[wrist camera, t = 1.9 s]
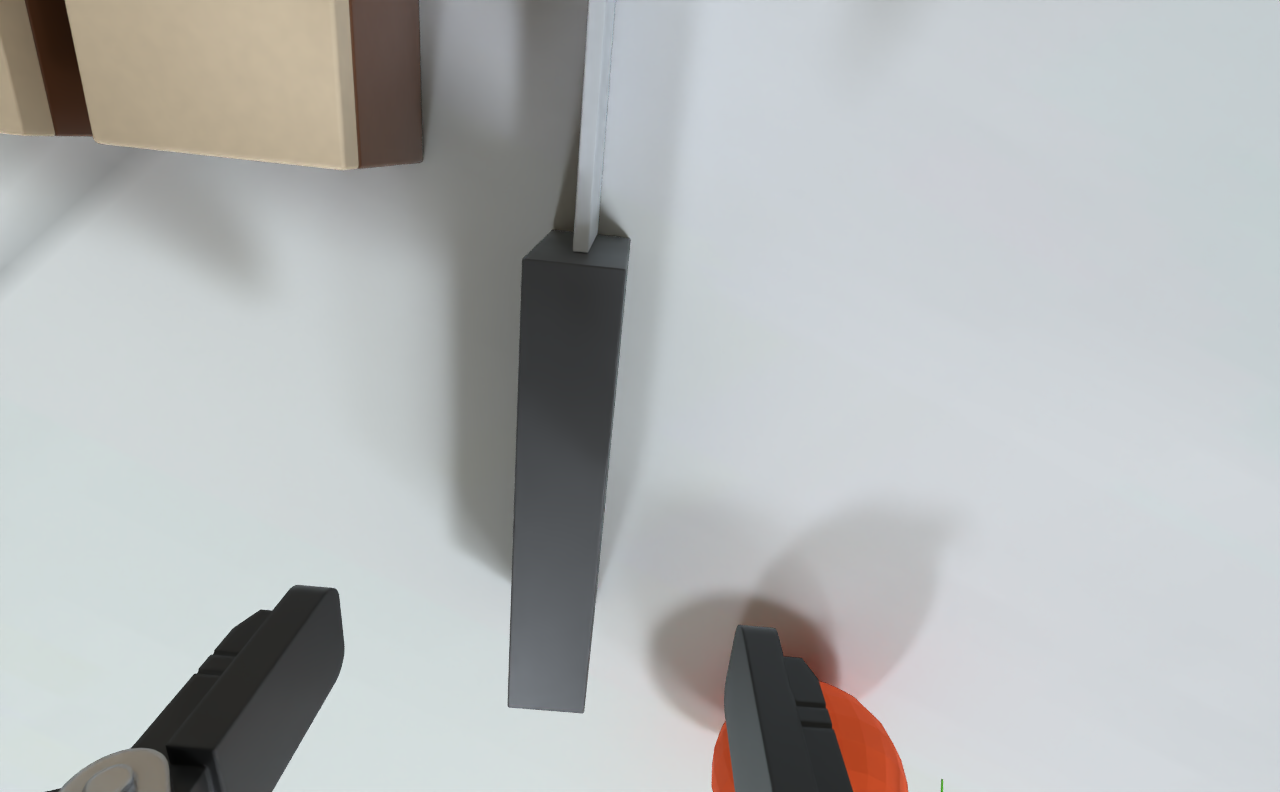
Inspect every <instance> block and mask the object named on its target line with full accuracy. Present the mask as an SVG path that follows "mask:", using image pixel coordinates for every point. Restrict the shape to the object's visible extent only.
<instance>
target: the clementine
mask: <svg viewBox="0 0 1280 792" xmlns="http://www.w3.org/2000/svg"><path fill="white" fill-rule="evenodd" d="M819 683H820V686H821V690H822V693H823V696H824V699H825V702H826V709H828V712H829V715H830V718H831V722H832V729H834V731H835V734H836V738H837V741H838V744H839V747H840V750H841V754H842V757H843V760H844V763H845V767H846V770H847V773H848V776H849V779H850V783H851V786H852V789H853V792H908V784H907V781H906V777H905V773H904V769H903V765H902V762H901V759H900V757H899V755H898V753H897V751H896V749H895V747H894V745H893V743H892V741H891V739H890V738H889V736H888V734H887V732H886V731H885V729H884V727H883V726H882V724H881V723H880V722H879V721H878V720H877V719H876V718H875V717H874V716H873V715H872V714H871V713H870V712H869V711H868V710H867V709H866V708H865V707H864V706H863V705H862V704H861V703H860V702H859V701H858V700H857V699H855V698H854V697H853V696H852V695H850V694H848V693H846V692H844V691H842V690H840V689H838V688H836V687H834V686H832V685H829V684H827V683H824V682H820V681H819ZM712 790H713V792H735V788H734V780H733V772H732V765H731V757H730V749H729V742H728V734H727V726H726V721H725V722H724V724H723V726H722V728H721V731H720V733H719V736H718V739H717V742H716V745H715V748H714V755H713V762H712ZM941 792H943V779H941Z"/></svg>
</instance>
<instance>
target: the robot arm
mask: <svg viewBox="0 0 1280 792" xmlns="http://www.w3.org/2000/svg"><path fill="white" fill-rule="evenodd" d="M343 658H344V637H343V628H342V618H341V609H340V600H339V594H338V591H337V590H336V589H335V588H326V587H315V586H304V585H295V586H293V587H292V588H290V590H289V591H288V592H287V593H286V594H285V596H284V597H283V598H282V599H281V601H280V602H279V603H278V604H277V606H276V607H275V608H274V609H273V611H270V610H259V611H258V612H256V613H255V614H253V615H252V616H250V617H249V618H247V619H246V620H245V621H243V622H242V623H240V624H239V625H237V626H236V627H234V628H233V629H232V630H231V631H230V633H229V634H228V635H227V636H226V637H225V638H224V640H223V641H222V642H221V643H220V644H219V646H218V647H217V648H216V649H215V650H214V654H213V655H210V656H209V657H208V658H207V660H206V661H205V662H204V663H203V664H202V666H201V667H200V668H199V671H198V673H197V674H194V675H193V676H192V677H191V678H190V680H189V681H188V682H187V683H186V684H185V686H184V687H183V688H182V689H181V690H180V691H179V693H178V694H177V695H176V696H175V697H174V698H173V700H172V701H171V702H170V703H169V704H168V705H167V707H166V708H165V709H164V710H163V711H162V713H161V714H160V715H159V716H158V717H157V718H156V720H155V721H154V722H153V723H152V724H151V725H150V727H149V728H148V729H147V730H146V731H145V733H144V734H143V735H142V736H141V737H140V738H139V740H138V741H137V742H136V743H135V744H134V745H133V746H132V747H131V748H130V749H127V750H122V751H119V752H116V753H113V754H110V755H108V756H105V757H103V758H101V759H99V760H97V761H95V762H93V763H91V764H90V765H88V766H87V767H85V768H84V769H82V770H81V771H79V772H78V773H77V774H76V775H74V776H73V777H72V778H71V779H70V780H69V781H68V782H67V783H66V784H65V785H64V786H63V787H62V788H60V789H56V790H52V791H47V792H272V791H273V789H274V787H275V786H276V784H277V782H278V780H279V779H280V777H281V775H282V774H283V772H284V770H285V768H286V767H287V765H288V763H289V761H290V760H291V758H292V756H293V755H294V753H295V751H296V749H297V748H298V746H299V744H300V742H301V741H302V739H303V737H304V736H305V734H306V732H307V730H308V729H309V727H310V725H311V723H312V722H313V720H314V718H315V716H316V715H317V713H318V711H319V710H320V708H321V706H322V704H323V703H324V701H325V699H326V697H327V696H328V694H329V692H330V691H331V689H332V687H333V685H334V684H335V682H336V680H337V678H338V676H339V673H340V670H341V667H342V663H343ZM724 707H725V719H726V726H727V734H728V742H729V749H730V757H731V765H732V772H733V780H734V788H735V792H853V789H852V786H851V783H850V779H849V776H848V773H847V770H846V767H845V763H844V760H843V757H842V754H841V750H840V747H839V744H838V741H837V738H836V734H835V731H834V729H832V722H831V718H830V715H829V712H828V709H826V702H825V699H824V696H823V693H822V690H821V686H820V683H819V680H818V679H817V677H816V676H815V675H814V673H813V672H812V671H811V670H810V668H809V667H808V666H807V664H806V663H805V662H804V660H803V659H802V658H796V657H785V656H783V652H782V648H781V644H780V640H779V636H778V633H777V631H776V629H775V628H768V627H756V626H745V625H738V626H737V629H736V632H735V637H734V642H733V647H732V652H731V657H730V662H729V667H728V672H727V677H726V683H725V695H724Z"/></svg>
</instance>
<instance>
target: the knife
mask: <svg viewBox="0 0 1280 792" xmlns="http://www.w3.org/2000/svg"><path fill="white" fill-rule="evenodd" d="M615 3H616V0H588V14H587V30H586V46H585V62H584V78H583V94H582V110H581V126H580V142H579V158H578V174H577V190H576V206H575V222H574V232H568V231H559V230H552V231H551V232H550V233H549V234H548V235H547V236H546V237H545V238H544V239H543V240H541V241H540V242H539V243H538V244H537V245H536V246H535V247H534V248H533V249H532V250H531V251H530V252H529V253H528V254H527V255H526V256H525V257H524V258H523V260H522V280H521V311H520V342H519V372H518V403H517V433H516V464H515V494H514V525H513V556H512V586H511V617H510V647H509V678H508V707H511V708H523V709H536V710H548V711H560V712H573V713H584V708H585V698H586V689H587V679H588V670H589V660H590V651H591V641H592V632H593V622H594V613H595V603H596V593H597V582H598V572H599V561H600V551H601V541H602V530H603V520H604V510H605V499H606V489H607V478H608V468H609V458H610V447H611V437H612V426H613V416H614V406H615V395H616V385H617V374H618V364H619V354H620V343H621V333H622V323H623V312H624V302H625V291H626V281H627V271H628V260H629V250H630V238H624V237H615V236H606V235H597V234H598V224H599V211H600V198H601V185H602V172H603V159H604V146H605V133H606V120H607V107H608V94H609V81H610V68H611V55H612V42H613V29H614V16H615Z"/></svg>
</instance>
